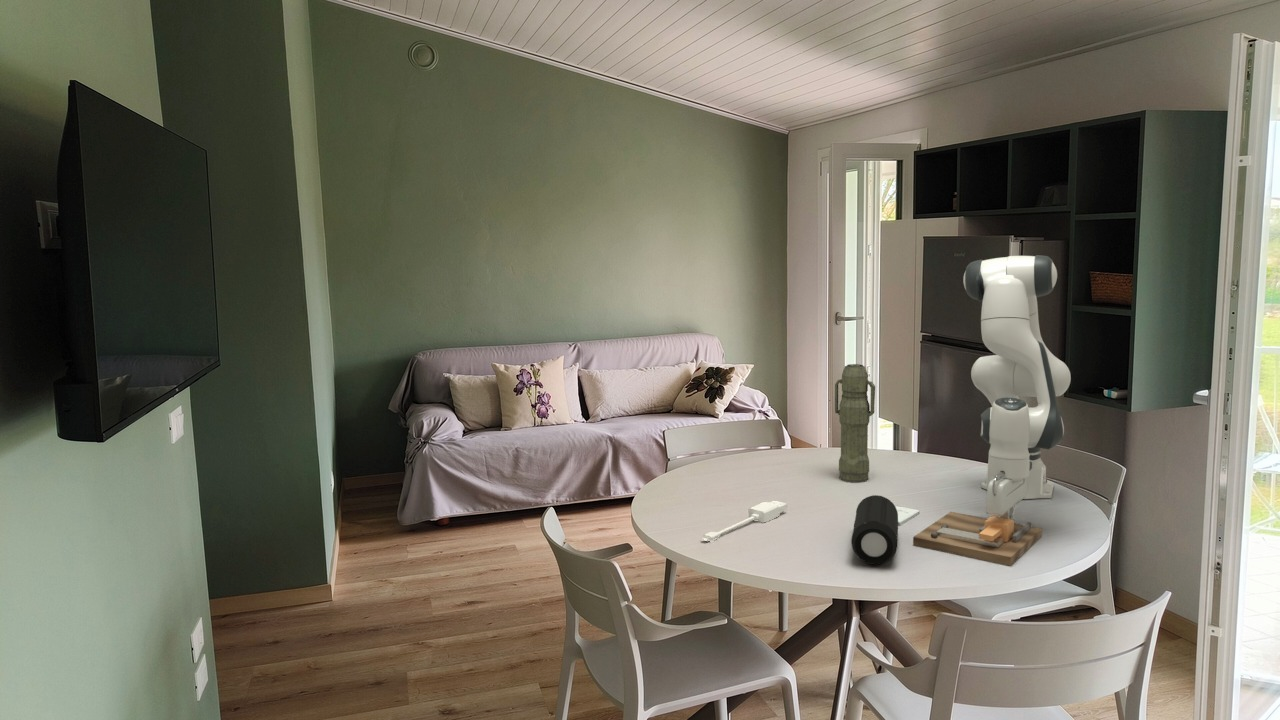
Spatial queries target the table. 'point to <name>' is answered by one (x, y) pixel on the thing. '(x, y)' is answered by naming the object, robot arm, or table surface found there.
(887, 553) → the portable speaker
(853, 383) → the thermos
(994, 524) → the bolt
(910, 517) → the external hard drive
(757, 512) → the charging cable
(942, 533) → the grey flat bar
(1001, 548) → the base
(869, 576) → the table surface
